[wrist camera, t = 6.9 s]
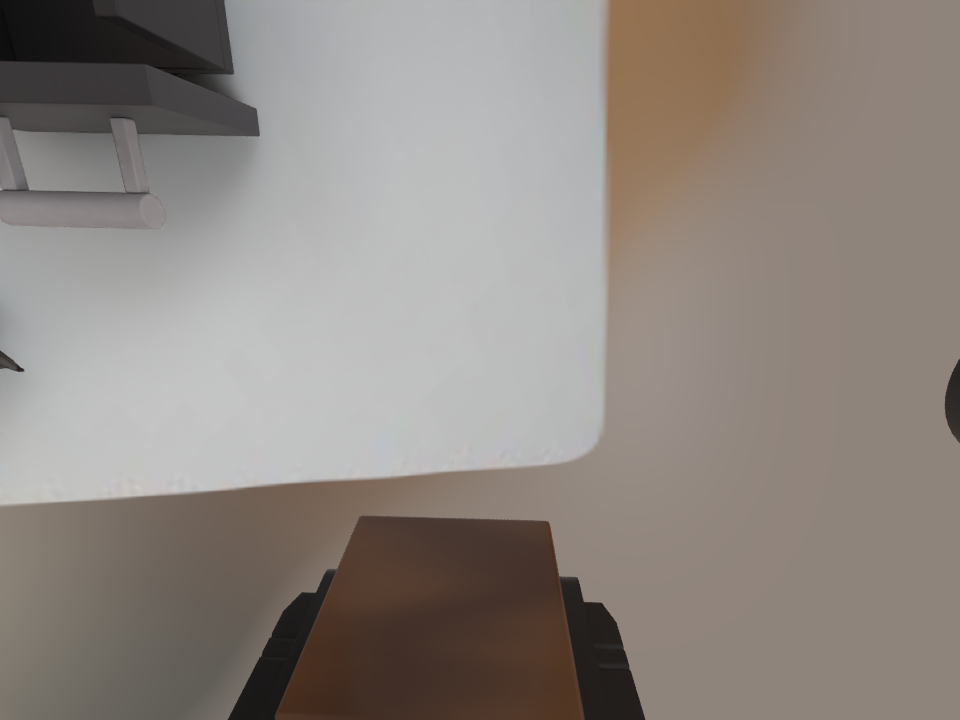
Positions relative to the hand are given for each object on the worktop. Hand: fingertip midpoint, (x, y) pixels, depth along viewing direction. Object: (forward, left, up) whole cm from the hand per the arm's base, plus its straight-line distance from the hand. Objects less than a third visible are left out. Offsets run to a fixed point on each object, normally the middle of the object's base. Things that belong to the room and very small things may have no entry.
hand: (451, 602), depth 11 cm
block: (0, 0, 0) cm, 0 cm away
